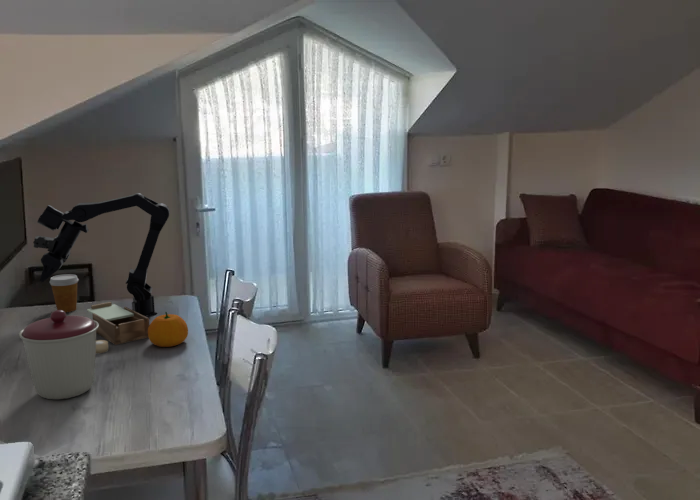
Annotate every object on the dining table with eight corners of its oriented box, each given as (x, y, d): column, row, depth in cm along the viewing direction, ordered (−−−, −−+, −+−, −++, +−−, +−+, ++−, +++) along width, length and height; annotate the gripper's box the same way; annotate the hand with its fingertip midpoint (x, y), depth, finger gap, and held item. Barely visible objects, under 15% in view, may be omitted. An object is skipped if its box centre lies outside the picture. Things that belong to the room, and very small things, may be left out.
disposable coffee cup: (51, 308, 244) (48, 275, 242) (80, 305, 248) (77, 272, 245) (52, 315, 235) (49, 281, 233) (82, 311, 239) (79, 278, 237)
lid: (114, 306, 228) (114, 300, 227) (133, 315, 216) (133, 310, 216) (87, 311, 222) (86, 306, 221) (105, 321, 210) (105, 316, 210)
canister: (119, 386, 173) (113, 306, 169) (57, 412, 158) (48, 325, 154) (72, 373, 182) (65, 297, 178) (9, 397, 167) (0, 314, 163)
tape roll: (104, 346, 203) (103, 338, 203) (111, 350, 199) (110, 342, 199) (87, 350, 200) (87, 342, 199) (94, 355, 196) (93, 346, 196)
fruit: (179, 351, 199) (177, 318, 197) (141, 349, 201) (139, 316, 199) (194, 338, 210) (192, 306, 208) (158, 336, 212) (156, 305, 210)
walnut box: (127, 324, 224) (125, 306, 223) (150, 337, 211) (148, 318, 210) (93, 331, 217) (92, 313, 216) (115, 345, 204) (114, 325, 203)
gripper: (49, 221, 232) (26, 260, 232) (37, 230, 214) (13, 273, 215) (80, 237, 235) (58, 275, 236) (71, 247, 217) (47, 289, 218)
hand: (44, 278), depth 226 cm, fingers open, 9 cm apart
